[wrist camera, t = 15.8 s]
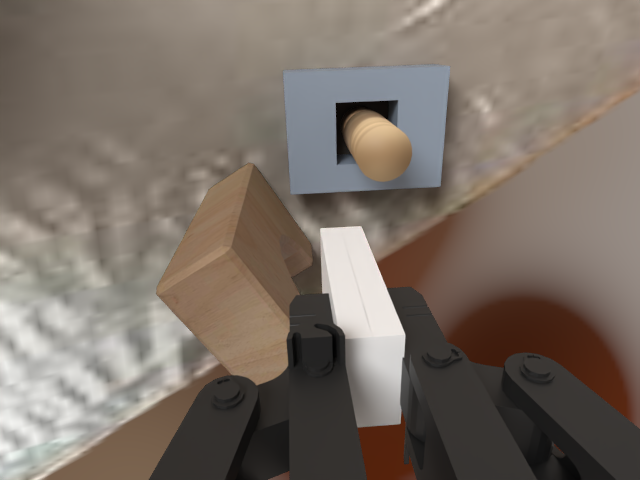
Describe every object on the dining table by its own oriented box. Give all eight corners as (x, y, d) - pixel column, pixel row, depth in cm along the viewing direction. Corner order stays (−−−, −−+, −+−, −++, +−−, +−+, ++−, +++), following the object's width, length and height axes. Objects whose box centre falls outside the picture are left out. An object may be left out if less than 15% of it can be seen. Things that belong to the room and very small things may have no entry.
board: (283, 70, 40) (283, 72, 36) (435, 64, 41) (450, 66, 37) (290, 182, 44) (290, 194, 41) (427, 175, 45) (440, 186, 41)
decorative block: (312, 245, 47) (329, 372, 29) (268, 271, 48) (257, 409, 30) (253, 158, 43) (229, 243, 25) (206, 188, 44) (149, 291, 26)
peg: (338, 105, 42) (356, 127, 31) (380, 103, 42) (413, 124, 31) (339, 147, 43) (356, 183, 32) (379, 145, 43) (410, 180, 33)
